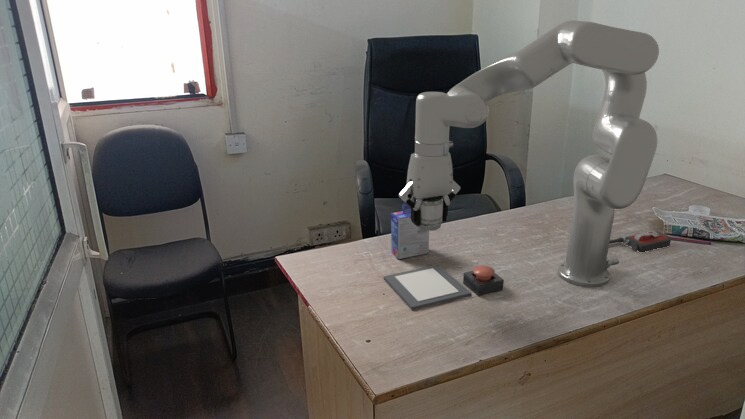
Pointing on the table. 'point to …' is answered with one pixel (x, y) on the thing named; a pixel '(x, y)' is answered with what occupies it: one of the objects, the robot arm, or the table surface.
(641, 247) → the walkie-talkie
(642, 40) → the robot arm
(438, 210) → the camera lens
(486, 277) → the button
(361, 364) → the table surface
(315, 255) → the table surface
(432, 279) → the desk mat
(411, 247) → the ink cartridge box
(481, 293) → the button housing
